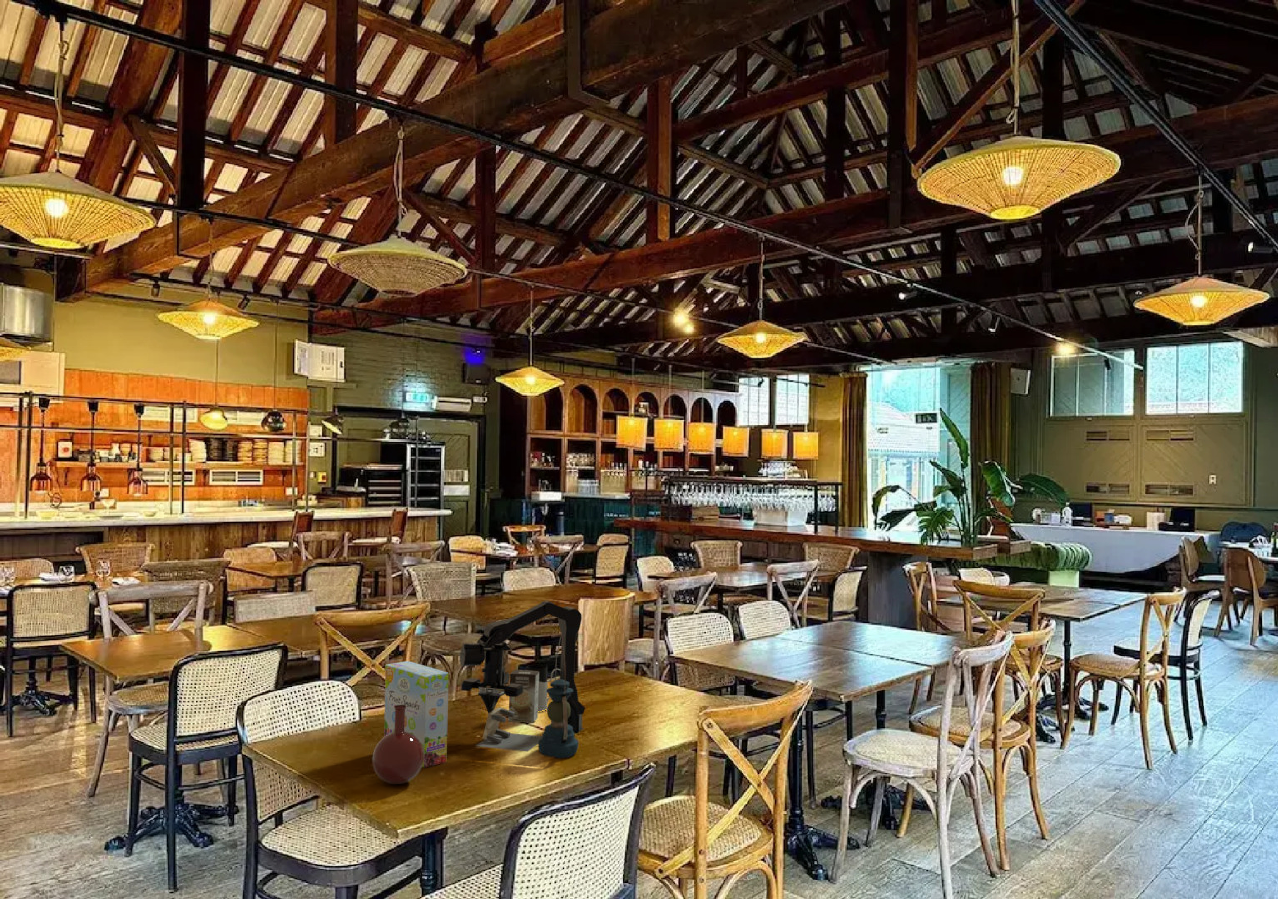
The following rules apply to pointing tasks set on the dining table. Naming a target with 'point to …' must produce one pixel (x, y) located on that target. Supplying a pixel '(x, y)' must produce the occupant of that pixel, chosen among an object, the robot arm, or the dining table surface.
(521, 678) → the coffee box
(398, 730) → the round-bottom flask
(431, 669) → the snack box
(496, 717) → the footstool
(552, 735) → the lantern
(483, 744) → the rubber mat
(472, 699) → the dining table surface
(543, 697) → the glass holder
